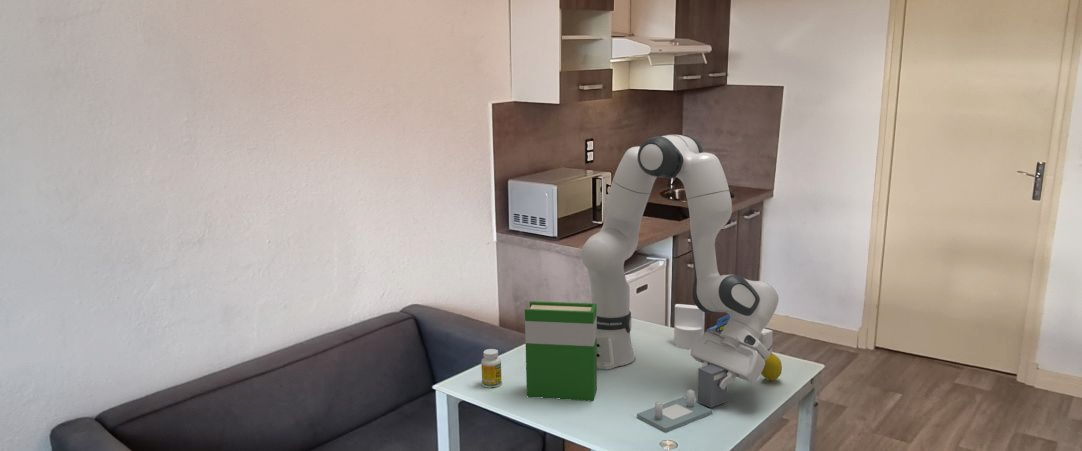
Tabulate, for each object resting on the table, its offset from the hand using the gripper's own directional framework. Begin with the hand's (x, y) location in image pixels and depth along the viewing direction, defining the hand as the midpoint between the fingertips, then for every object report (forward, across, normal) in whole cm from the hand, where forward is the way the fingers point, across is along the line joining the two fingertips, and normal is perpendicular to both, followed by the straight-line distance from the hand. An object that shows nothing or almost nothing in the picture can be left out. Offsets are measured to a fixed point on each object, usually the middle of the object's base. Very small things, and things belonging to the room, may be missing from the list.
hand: (711, 383), depth 202 cm
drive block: (+3, 0, +4) cm, 5 cm away
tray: (+12, -1, -5) cm, 13 cm away
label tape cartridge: (-16, -22, +24) cm, 36 cm away
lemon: (-13, 0, +20) cm, 24 cm away
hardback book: (+22, -29, -14) cm, 39 cm away
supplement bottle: (+30, -45, -22) cm, 59 cm away
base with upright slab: (-15, -33, +23) cm, 43 cm away
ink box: (-16, -9, +24) cm, 29 cm away
